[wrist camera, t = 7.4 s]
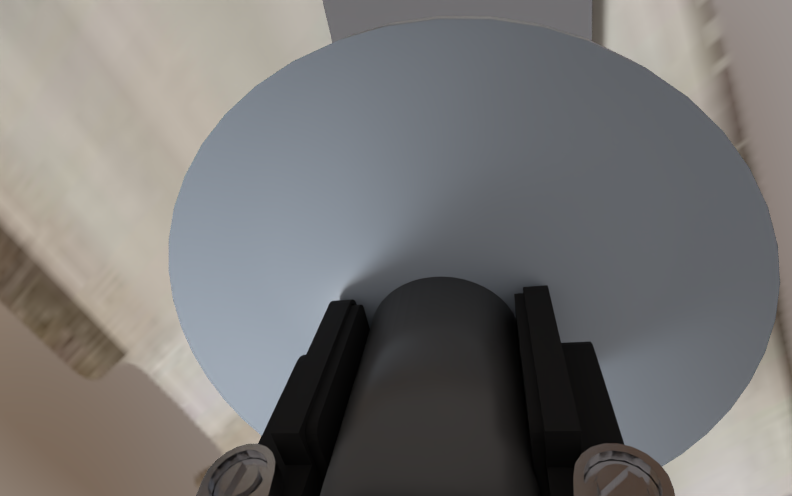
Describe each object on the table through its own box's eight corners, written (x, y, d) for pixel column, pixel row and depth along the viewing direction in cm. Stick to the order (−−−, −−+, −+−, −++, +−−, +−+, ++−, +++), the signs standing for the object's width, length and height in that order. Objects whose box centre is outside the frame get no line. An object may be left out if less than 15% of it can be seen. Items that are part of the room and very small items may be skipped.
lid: (715, 485, 14) (854, 780, 9) (283, 480, 17) (201, 697, 12) (818, -70, 7) (1561, -168, 2) (92, 87, 11) (-268, 192, 5)
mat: (588, 194, 34) (591, 199, 34) (377, 217, 38) (375, 223, 37) (588, -63, 27) (592, -64, 26) (326, -4, 30) (321, -3, 30)
